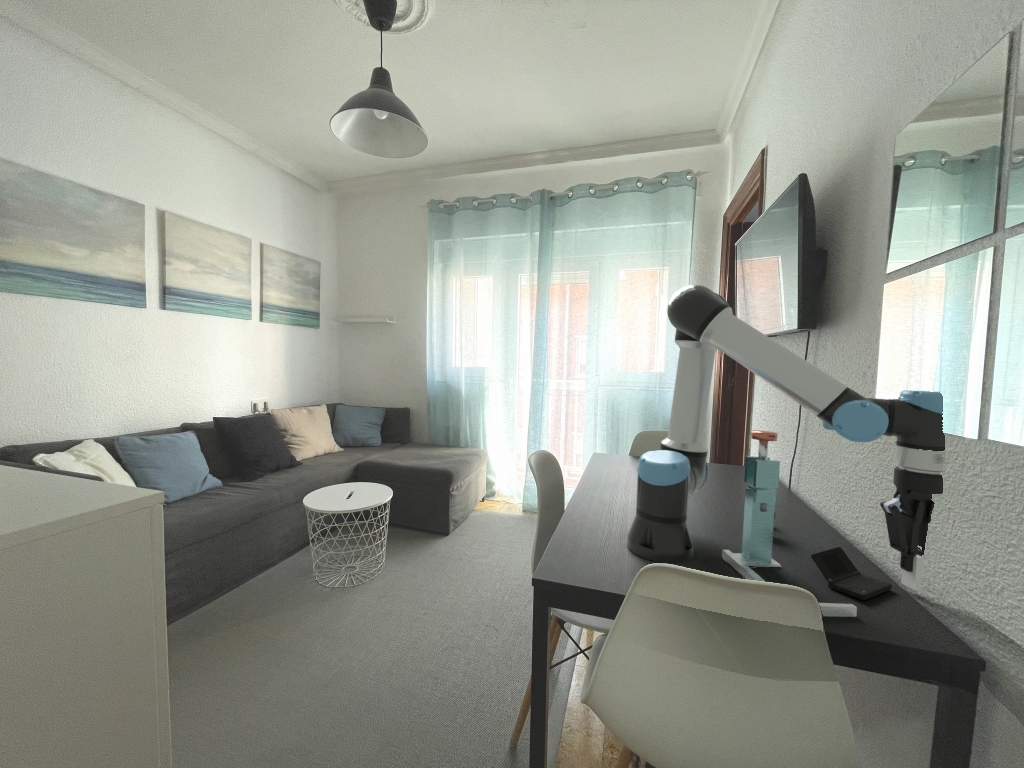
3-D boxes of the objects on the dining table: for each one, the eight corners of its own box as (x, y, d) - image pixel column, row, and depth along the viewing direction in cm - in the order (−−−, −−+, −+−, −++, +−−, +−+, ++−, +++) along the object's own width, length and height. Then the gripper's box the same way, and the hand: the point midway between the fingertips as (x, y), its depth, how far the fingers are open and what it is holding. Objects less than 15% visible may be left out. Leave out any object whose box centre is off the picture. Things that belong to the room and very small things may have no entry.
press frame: (783, 615, 72) (792, 483, 71) (719, 555, 94) (725, 455, 93) (856, 618, 72) (866, 486, 71) (775, 557, 94) (781, 457, 93)
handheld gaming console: (856, 610, 77) (865, 597, 76) (802, 566, 86) (810, 554, 84) (885, 598, 81) (894, 585, 80) (831, 557, 90) (839, 545, 89)
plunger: (757, 467, 88) (759, 433, 88) (744, 462, 93) (746, 429, 93) (780, 468, 88) (782, 434, 88) (766, 463, 93) (768, 430, 93)
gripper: (906, 473, 75) (896, 596, 76) (976, 475, 75) (965, 598, 76) (870, 463, 82) (862, 575, 83) (934, 465, 82) (925, 577, 83)
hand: (911, 586), depth 80 cm, fingers closed
